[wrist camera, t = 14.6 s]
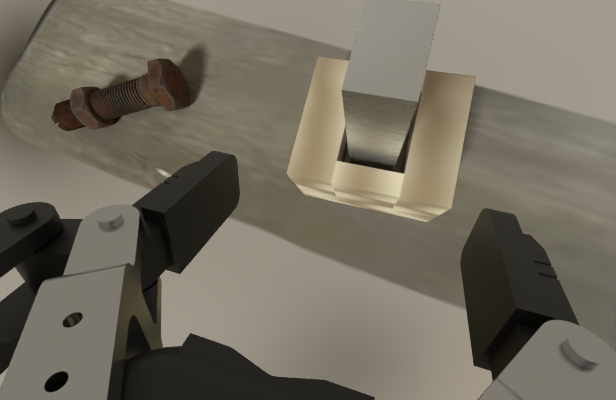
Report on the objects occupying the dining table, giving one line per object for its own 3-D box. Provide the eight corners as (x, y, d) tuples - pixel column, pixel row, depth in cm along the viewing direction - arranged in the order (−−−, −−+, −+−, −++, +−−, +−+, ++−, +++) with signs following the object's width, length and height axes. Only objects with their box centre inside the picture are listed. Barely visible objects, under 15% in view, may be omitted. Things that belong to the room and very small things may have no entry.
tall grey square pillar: (402, 128, 28) (440, 4, 14) (389, 180, 27) (418, 102, 14) (363, 121, 29) (366, -3, 15) (350, 172, 28) (341, 89, 15)
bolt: (89, 125, 40) (195, 95, 38) (71, 150, 37) (186, 118, 34) (50, 84, 36) (166, 47, 33) (26, 108, 32) (153, 68, 30)
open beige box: (446, 123, 30) (475, 76, 23) (427, 221, 29) (451, 208, 21) (328, 104, 33) (318, 56, 25) (304, 195, 31) (286, 173, 24)
